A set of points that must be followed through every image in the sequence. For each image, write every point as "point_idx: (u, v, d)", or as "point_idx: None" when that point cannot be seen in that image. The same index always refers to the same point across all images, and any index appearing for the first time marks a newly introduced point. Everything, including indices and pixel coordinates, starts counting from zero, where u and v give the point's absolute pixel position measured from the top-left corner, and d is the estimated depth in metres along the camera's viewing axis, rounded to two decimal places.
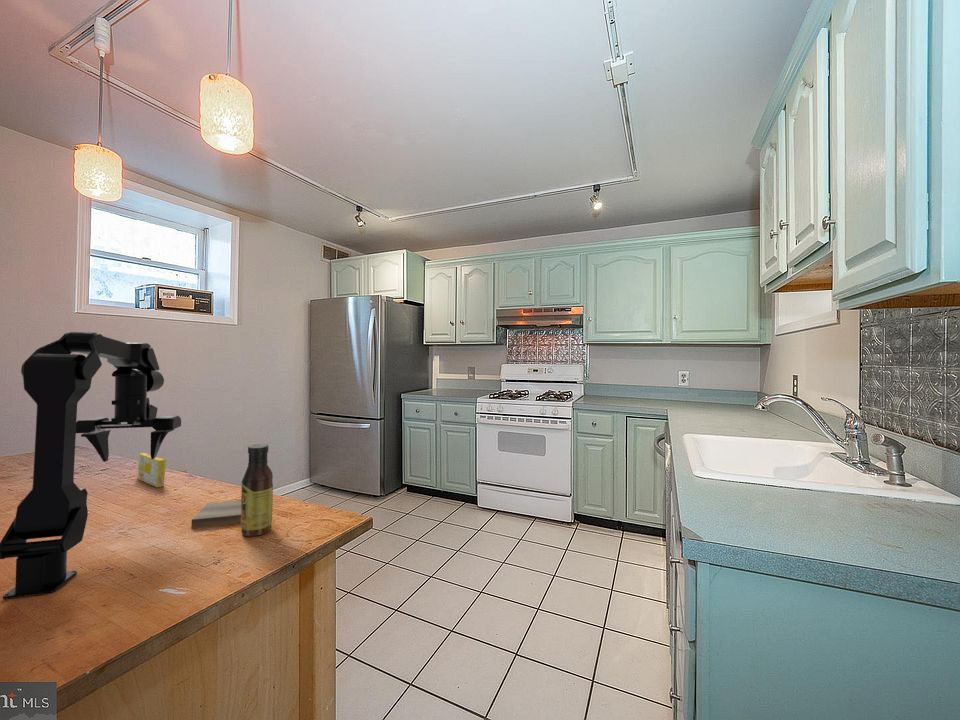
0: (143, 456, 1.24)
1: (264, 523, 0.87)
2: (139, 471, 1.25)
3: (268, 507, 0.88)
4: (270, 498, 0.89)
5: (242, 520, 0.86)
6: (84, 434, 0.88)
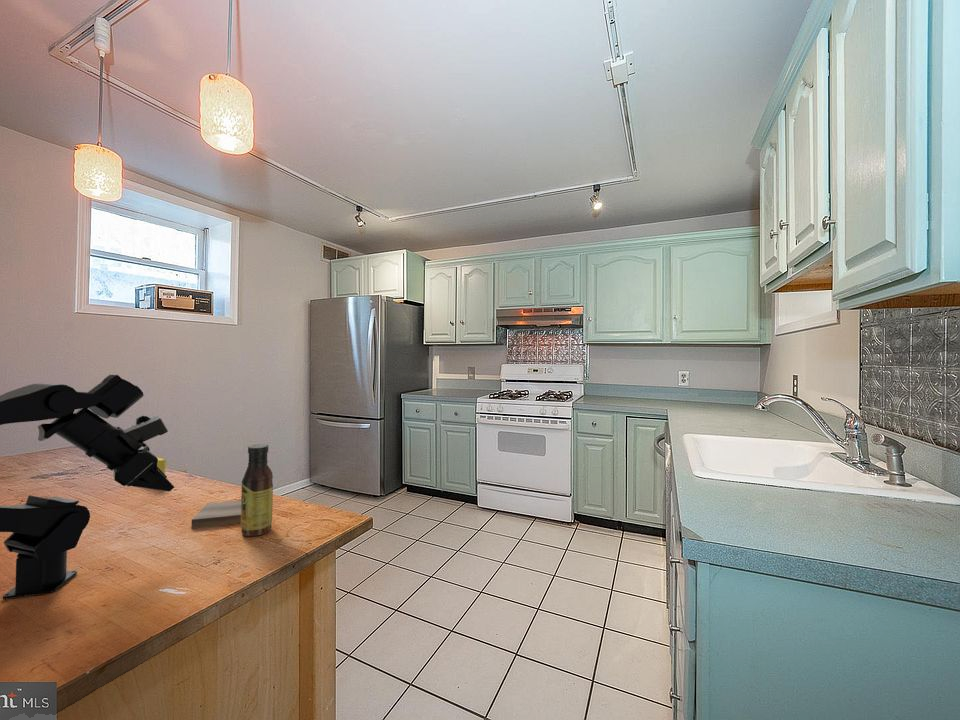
0: None
1: (264, 523, 0.87)
2: None
3: (268, 507, 0.88)
4: (270, 498, 0.89)
5: (242, 520, 0.86)
6: None
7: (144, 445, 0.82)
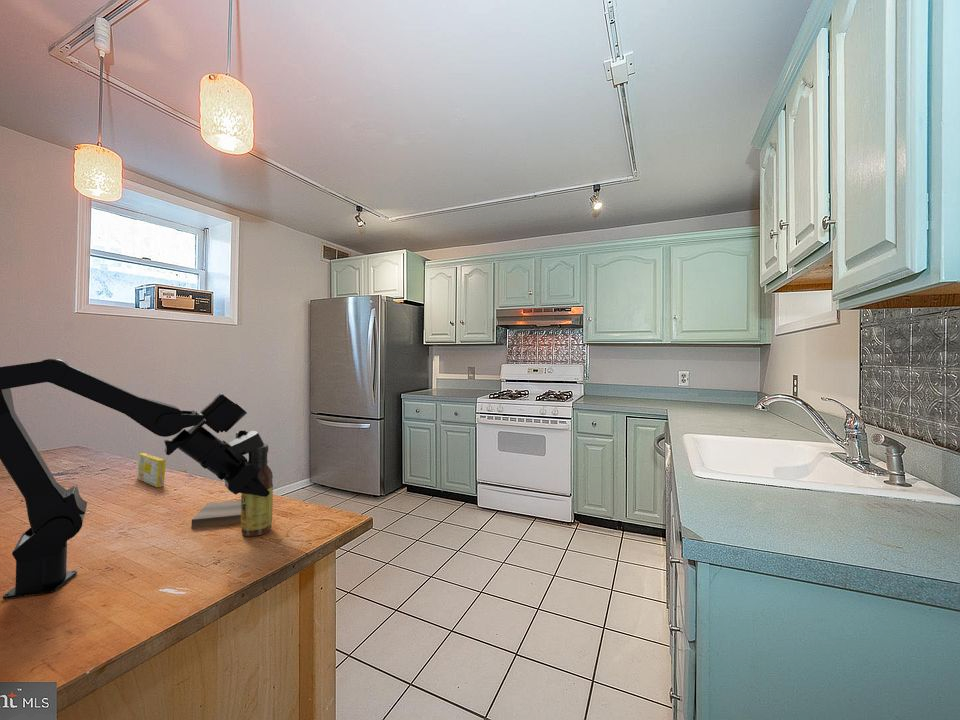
0: (143, 456, 1.24)
1: (264, 523, 0.87)
2: (139, 471, 1.25)
3: (268, 507, 0.88)
4: (270, 498, 0.89)
5: (242, 520, 0.86)
6: (223, 478, 0.89)
7: None
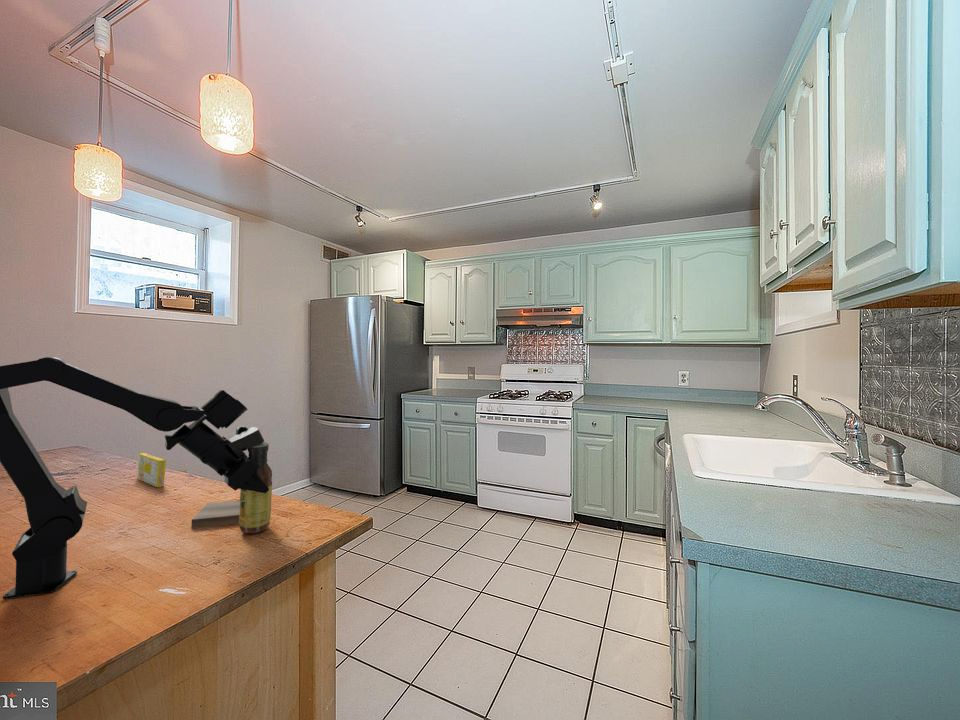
0: (143, 456, 1.24)
1: (262, 520, 0.88)
2: (139, 471, 1.25)
3: (267, 505, 0.88)
4: (269, 496, 0.89)
5: (240, 517, 0.87)
6: (223, 474, 0.89)
7: None
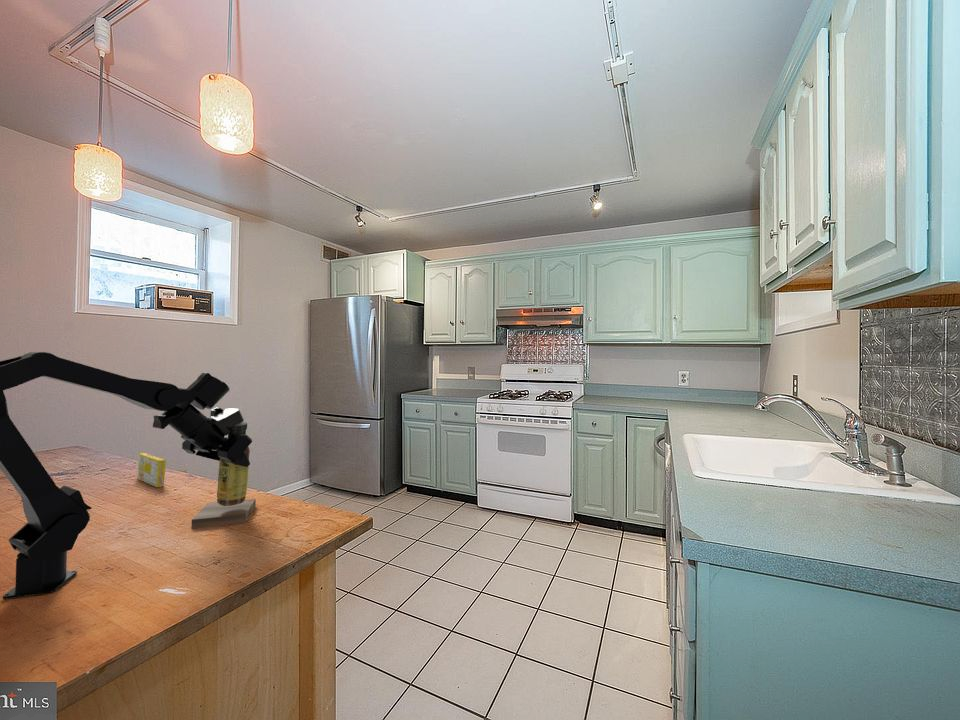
0: (143, 456, 1.24)
1: (243, 493, 0.96)
2: (139, 471, 1.25)
3: (246, 478, 0.97)
4: None
5: (221, 491, 0.93)
6: (196, 454, 0.93)
7: None
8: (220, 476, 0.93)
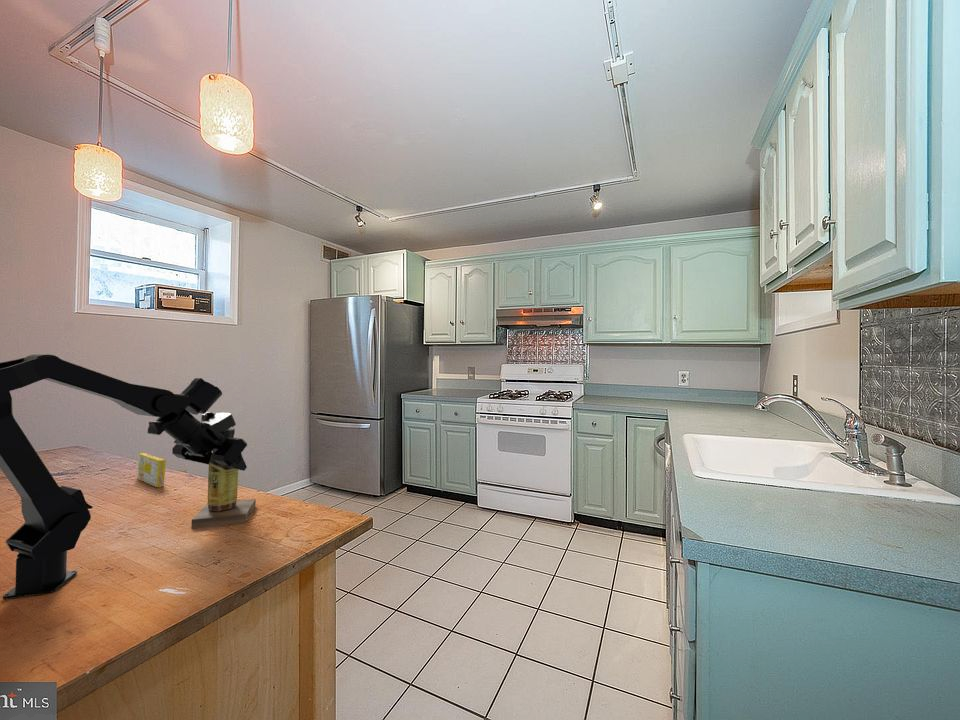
0: (143, 456, 1.24)
1: (234, 497, 0.97)
2: (139, 471, 1.25)
3: (237, 483, 0.98)
4: (237, 475, 0.99)
5: (212, 497, 0.94)
6: (184, 458, 0.95)
7: None
8: (210, 482, 0.95)
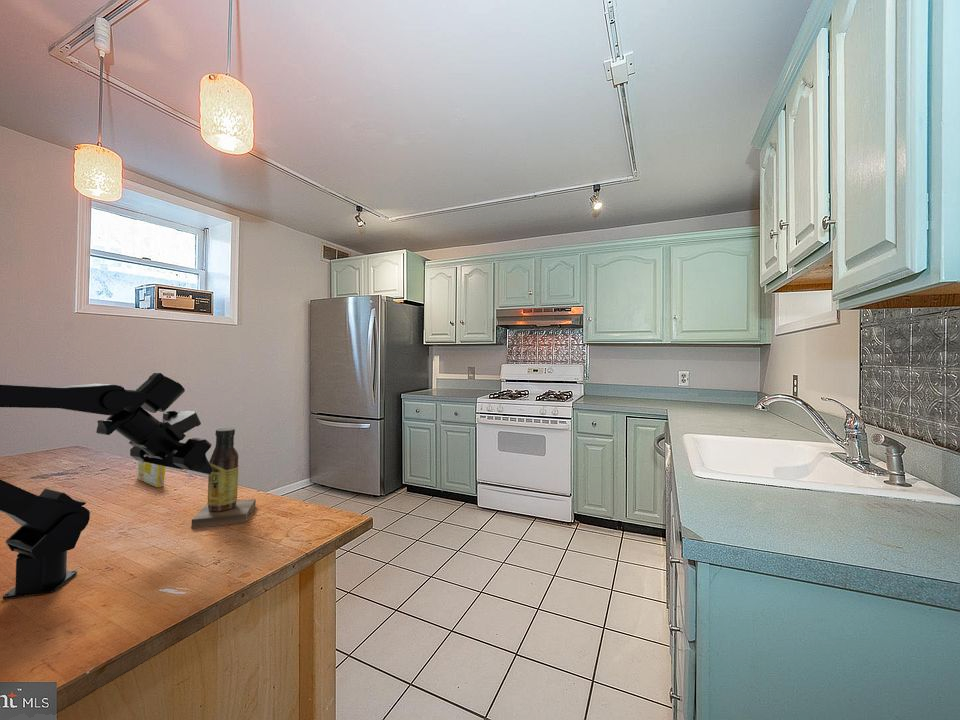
0: None
1: (234, 497, 0.97)
2: (139, 471, 1.25)
3: (237, 483, 0.98)
4: (237, 475, 0.99)
5: (212, 497, 0.94)
6: (143, 461, 0.87)
7: None
8: (210, 482, 0.95)
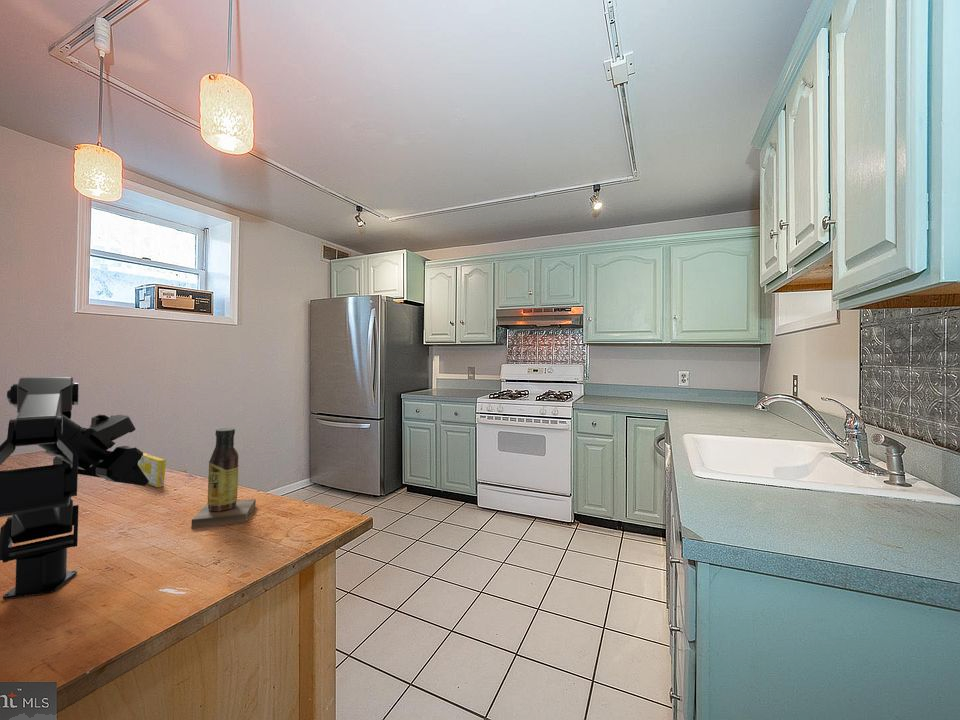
0: (143, 456, 1.24)
1: (234, 497, 0.97)
2: None
3: (237, 483, 0.98)
4: (237, 475, 0.99)
5: (212, 497, 0.94)
6: None
7: None
8: (210, 482, 0.95)
